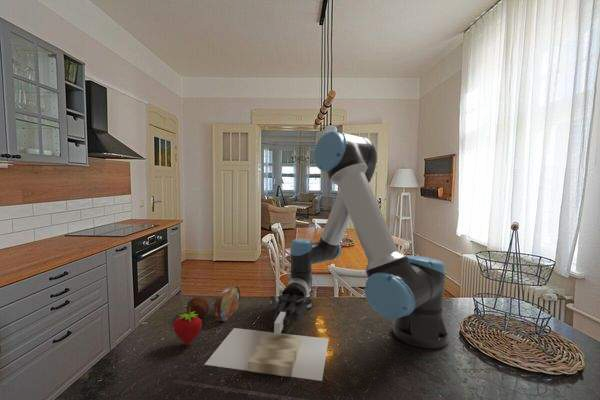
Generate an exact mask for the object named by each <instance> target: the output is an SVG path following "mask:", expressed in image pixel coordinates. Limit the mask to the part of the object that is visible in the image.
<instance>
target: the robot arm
mask: <svg viewBox="0 0 600 400" xmlns="http://www.w3.org/2000/svg"><path fill="white" fill-rule="evenodd" d="M377 154H378V153H377V150H376V148H375V145H374V144H373V142H372V141H371V140H370V139H368V137H365V136H361V135H354V134H349V133H345V132H342V131H328V132H326V133H324V134H323V135H321V137H320V138H319V139H318V141H317V143H316V145H315V149H314V153H313V161H314V164H315V166H316V167H317V169H318V170H321V171H323V172H326V174H327V176H328V178H329V180H330V182H331V184H333V185H335V186H337V187H338V193H337V195H336V197H335V200H334V203H333V206H332V208H331V210H330V213H329V216H328V218H327V220H326V223H325V226H324V228H323V230H322V233H321V236H320V237H319V240H318V241H316V242H312V240H311V239H309V238H296V239H293V240H292V241H291V244H290V245H291V246H290V252H289V253H290V269H289V270H290V273H289V274H290V275H289V281H288V283H287V284H286V286H285V287H284V289H283V291H282V293H281V295H279V296H278V297H275V296H273V295H271V296H270V298H269V299H270V300H269V301H270V302H269V305H270V308H271V309H270V318H271V319H272V320H273V325H274V326H273V327H274V329H273V332H274V333H275V334H280V333H282V330H284V326H288V325H289V323H290V322H291V321H293V322H297V321H299V320H300V319H301V318H302V317H303V316H304V315H305V313H307V312H308V311H310V310H311V309H312V300H311V299H307V296H308V294H309V291H310V290H311V288H312V286H313V276H312V272H313V271H312V270H313V269H312V268H313V265H315V264H319V263H324V262H328V261H333V260H335V259H338V258H339V257H340V256H341V254H342V245H341V242H342V239H343V237H344V235H345V232H346V230H347V228H348V225H349V224H350V221H351V223H352V224H353V228H354V230H355V233H356V235H357V237H358V241H359V243H360V245H361V248H362V250H363V253H364V255H365V257H366V260H367V261H366V262H367V265H366V268H365V274H366V276H367V279H366V281H365V286H364V295H365V298H366V300H367V303H368V304H369V306H370V307H371V308H372V309H373V310H374V311H375V312H376V313H377V314H380V315H381V316H382V317H383V318H387V319H390V320H392V319H393V322H392V333H393V334H394V336H395V337H396V339H398V340H400V341H401V342H403V343H405V344H407V345H409V346H412V347H417V348H419V349H420V348H421V349H427V350H428V349H429V350H431V349H432V350H433V349H434V350H436V349H441V348H444V347H446V346H447V345H448V343H449V331H448V326H447V324H446V319H445V317H444V311H443V310H444V297H445V285H446V284H445V283H446V282H445V281H446V275H447V274H446V265H445V264H444V262H442V261H441V260H439V259H434V258H431V257H427V256H420V255H408V254H404V253H402V252H400V251H399V250H398V247H397V244H396V243H395V240H394V238H393V235H392V234H391V231H390V228H389V226H388V224H387V222H386V220H385V219H386V218H385V217H384V214H383V212H382V211H381V208H380V205H379V203H378V201H377V198H376V196H375V194H374V191H373V190H372V186H371V184H370V183H371V180H372V179H373V177H374V173H375V170H376V166H377V161H378V160H377V159H378V155H377ZM306 299H307V300H306ZM278 304H279V306H278V308H277V305H278Z"/></svg>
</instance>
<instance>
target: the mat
mask: <svg viewBox="0 0 600 400" xmlns="http://www.w3.org/2000/svg"><path fill="white" fill-rule="evenodd" d="M264 333H268V334H275V333H274V331H273V332H271V331H263V330H255V329H246V328H237V327H233V329H232V330H231V331H230V332H229V333H228V335H227V336H226V338H224V340H223V341H222V342H221V344H220V345H219V346H218V347H217V348H216V349H215V351H214V352H213V353H212V354H211V356H210V357H209V358H208V359H207V360H206V362H205V363H204V365H205V366H209V367H210V366H211V367H218V368H227V369H233V370H239V371H240V370H241V371H247V372H249V371H248V361H249V359H250V357H251V355H252V354H253V352H254V350H255V349H256V347H257V345H258V344H259V342H260V340H261V338H262V337H263V335H264ZM276 335H285V336H294V337H301V346H300V349H299V352H298V355H297V358H296V361H295V365H294V368H293V371H292V374H291V377H292V378H296V379H297V378H298V379H303V380H304V379H306V380H313V381H318V382H319V381H320V382H323V376H324V371H325V366H326V365H325V364H326V358H327V353H328V345H329V339H330V338H326V337H325V338H324V337H316V336H308V335H300V334H299V335H298V334H291V333H290V334H289V333H283V332H281V333H280V334H276ZM291 377H290V378H291Z"/></svg>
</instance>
